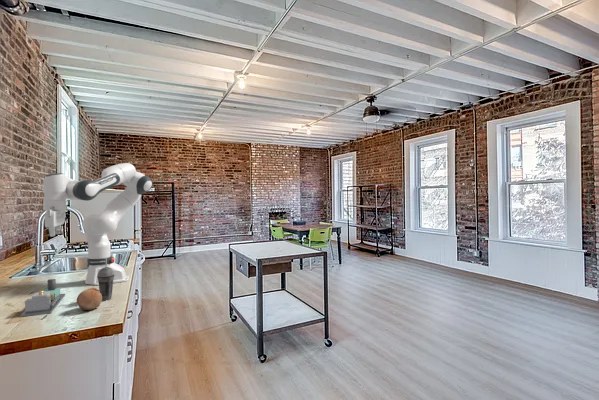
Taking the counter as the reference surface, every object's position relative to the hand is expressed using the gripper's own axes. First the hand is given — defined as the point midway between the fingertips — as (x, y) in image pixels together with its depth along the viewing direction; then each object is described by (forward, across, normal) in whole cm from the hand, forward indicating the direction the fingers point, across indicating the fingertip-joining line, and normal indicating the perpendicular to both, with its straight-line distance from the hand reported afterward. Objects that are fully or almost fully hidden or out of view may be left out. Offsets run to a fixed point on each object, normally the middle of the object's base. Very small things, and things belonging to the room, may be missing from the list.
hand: (55, 235), depth 150 cm
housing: (+30, -14, +2) cm, 33 cm away
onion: (+31, -22, -17) cm, 42 cm away
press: (+31, -8, +2) cm, 32 cm away
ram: (+30, 0, +2) cm, 30 cm away
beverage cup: (+31, -10, -22) cm, 40 cm away
